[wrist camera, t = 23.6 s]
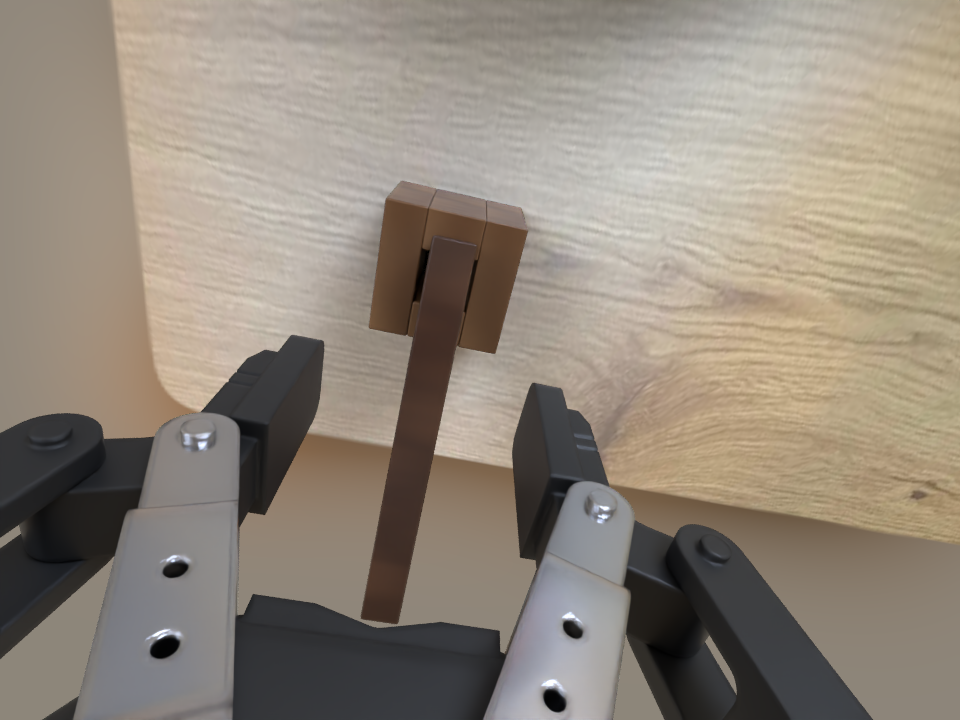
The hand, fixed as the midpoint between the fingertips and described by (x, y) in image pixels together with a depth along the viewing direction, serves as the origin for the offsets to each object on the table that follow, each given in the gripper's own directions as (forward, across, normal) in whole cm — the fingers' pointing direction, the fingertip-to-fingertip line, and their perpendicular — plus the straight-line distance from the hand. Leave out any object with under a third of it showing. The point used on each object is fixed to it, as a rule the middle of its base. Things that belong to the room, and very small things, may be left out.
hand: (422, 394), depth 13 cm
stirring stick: (+8, 0, -2) cm, 8 cm away
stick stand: (+12, 0, 0) cm, 12 cm away
